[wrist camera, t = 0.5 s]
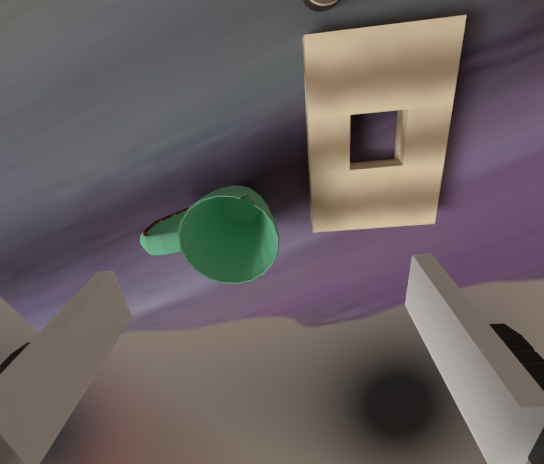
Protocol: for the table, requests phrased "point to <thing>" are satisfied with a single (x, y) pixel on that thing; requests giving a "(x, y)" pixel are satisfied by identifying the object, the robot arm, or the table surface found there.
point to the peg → (320, 4)
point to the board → (378, 98)
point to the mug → (219, 235)
